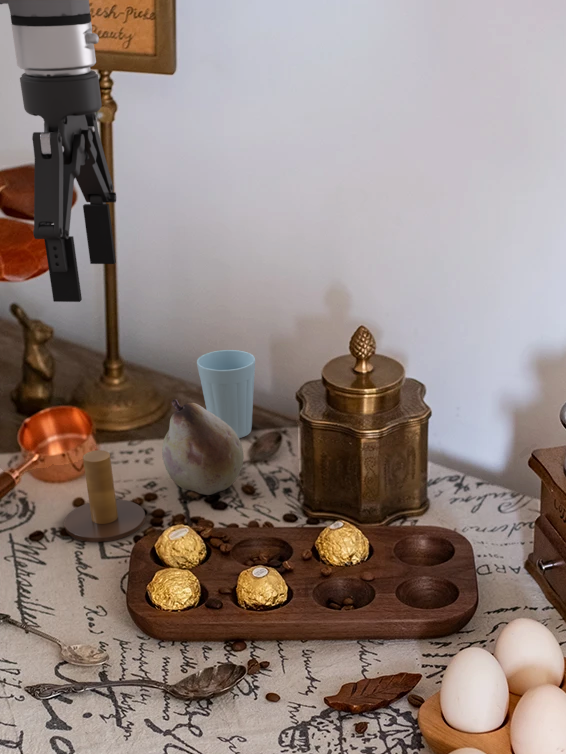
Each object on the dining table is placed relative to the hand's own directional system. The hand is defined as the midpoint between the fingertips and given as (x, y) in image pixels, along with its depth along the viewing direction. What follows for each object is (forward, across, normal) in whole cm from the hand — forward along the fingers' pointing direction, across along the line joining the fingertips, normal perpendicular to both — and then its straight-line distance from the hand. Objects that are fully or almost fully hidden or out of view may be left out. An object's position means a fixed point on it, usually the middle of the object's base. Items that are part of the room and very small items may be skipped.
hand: (86, 281), depth 119 cm
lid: (+28, -3, 0) cm, 28 cm away
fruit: (+28, +6, -10) cm, 30 cm away
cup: (+28, +22, -10) cm, 37 cm away
